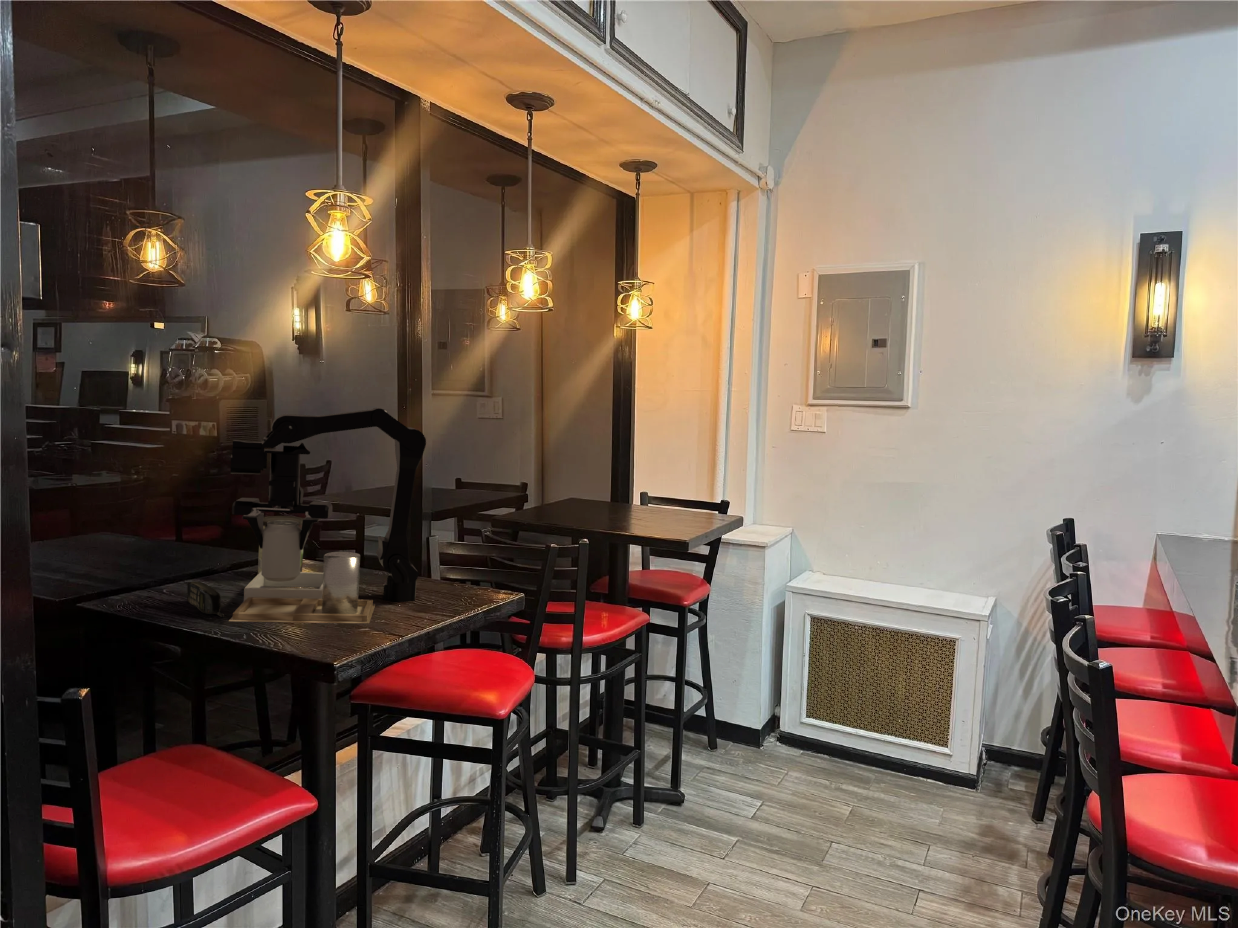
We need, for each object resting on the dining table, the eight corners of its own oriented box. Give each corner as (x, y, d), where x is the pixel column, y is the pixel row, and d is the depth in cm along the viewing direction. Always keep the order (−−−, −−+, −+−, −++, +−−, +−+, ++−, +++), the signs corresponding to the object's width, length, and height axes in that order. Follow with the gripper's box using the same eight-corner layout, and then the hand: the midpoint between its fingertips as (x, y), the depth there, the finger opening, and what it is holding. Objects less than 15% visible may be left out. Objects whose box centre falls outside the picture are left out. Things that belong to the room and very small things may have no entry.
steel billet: (359, 608, 170) (362, 552, 169) (355, 617, 164) (358, 559, 163) (324, 607, 169) (326, 551, 168) (318, 617, 162) (321, 558, 161)
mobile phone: (184, 580, 170) (212, 594, 160) (199, 578, 172) (228, 592, 162) (184, 603, 171) (212, 619, 160) (199, 601, 173) (227, 617, 163)
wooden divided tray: (375, 610, 175) (375, 598, 174) (368, 630, 161) (369, 617, 161) (246, 608, 169) (246, 595, 169) (228, 628, 156) (228, 614, 155)
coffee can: (311, 576, 200) (314, 520, 198) (275, 583, 191) (277, 524, 189) (284, 568, 205) (286, 514, 203) (247, 575, 196) (250, 517, 194)
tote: (332, 589, 189) (332, 572, 188) (321, 608, 173) (322, 589, 173) (260, 588, 185) (261, 570, 185) (243, 606, 170) (244, 588, 170)
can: (285, 584, 165) (287, 526, 164) (253, 579, 167) (255, 522, 166) (307, 576, 172) (309, 521, 171) (276, 572, 174) (278, 517, 173)
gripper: (338, 473, 177) (334, 543, 179) (247, 468, 174) (245, 539, 175) (329, 479, 166) (326, 553, 168) (232, 474, 163) (229, 550, 164)
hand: (281, 548), depth 169 cm, fingers closed on can, 7 cm apart
